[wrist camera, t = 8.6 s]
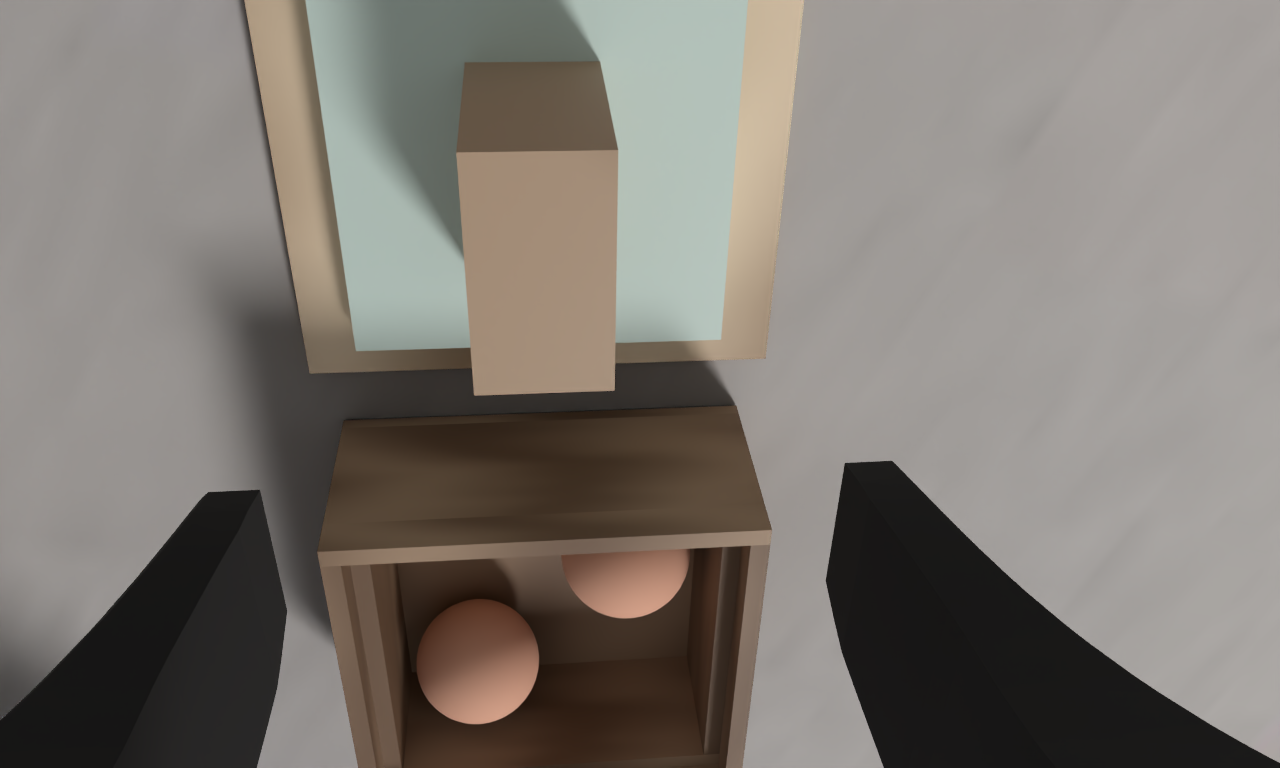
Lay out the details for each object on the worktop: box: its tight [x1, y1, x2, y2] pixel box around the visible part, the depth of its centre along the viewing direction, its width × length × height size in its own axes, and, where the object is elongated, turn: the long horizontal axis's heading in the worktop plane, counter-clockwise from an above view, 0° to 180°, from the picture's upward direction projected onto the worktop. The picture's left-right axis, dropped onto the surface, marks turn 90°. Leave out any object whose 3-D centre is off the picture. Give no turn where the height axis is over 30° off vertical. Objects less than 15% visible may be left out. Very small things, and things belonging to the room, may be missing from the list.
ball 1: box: [417, 599, 539, 724], centre depth 27 cm, size 3×3×3 cm
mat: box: [244, 0, 804, 374], centre depth 22 cm, size 10×10×1 cm
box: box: [317, 406, 772, 768], centre depth 26 cm, size 9×9×4 cm
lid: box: [305, 0, 748, 396], centre depth 20 cm, size 8×8×5 cm
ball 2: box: [561, 549, 690, 618], centre depth 26 cm, size 3×3×3 cm
